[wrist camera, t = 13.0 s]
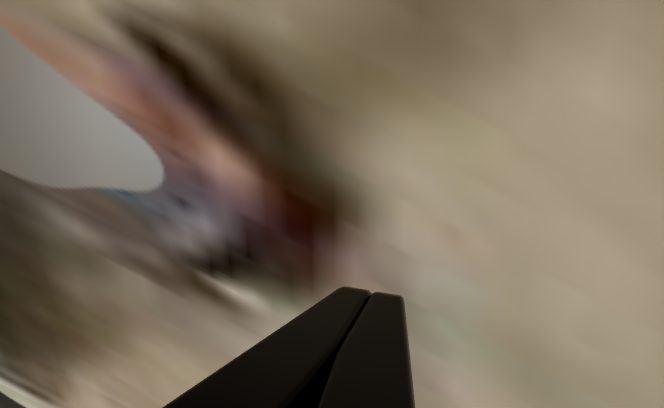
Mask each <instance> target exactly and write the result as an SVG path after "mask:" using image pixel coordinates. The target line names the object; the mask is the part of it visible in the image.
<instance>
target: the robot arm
mask: <svg viewBox="0 0 664 408" xmlns="http://www.w3.org/2000/svg"><path fill="white" fill-rule="evenodd" d="M163 408H415V400H414V390H413V381H412V371H411V362H410V352H409V343H408V333H407V323H406V314H405V304H404V299H403V297H402V296H400V295H394V294H388V293H382V292H375V293H373V294H372V293H371V292H370V291H368V290H364V289H358V288H352V287H341V288H339V289H337V290H336V291H334V292H333V293H331V294H330V295H329V296H327V297H326V298H324V299H323V300H321V301H320V302H318V303H317V304H315V305H314V306H312V307H311V308H309V309H308V310H306V311H305V312H303V313H302V314H300V315H299V316H297V317H296V318H294V319H293V320H292V321H290V322H289V323H287V324H286V325H284V326H283V327H281V328H280V329H278V330H277V331H275V332H274V333H272V334H271V335H269V336H268V337H266V338H265V339H263V340H262V341H260V342H259V343H257V344H256V345H254V346H253V347H252V348H250V349H249V350H247V351H246V352H244V353H243V354H241V355H240V356H238V357H237V358H235V359H234V360H232V361H231V362H229V363H228V364H226V365H225V366H223V367H222V368H220V369H219V370H217V371H216V372H215V373H213V374H212V375H210V376H209V377H207V378H206V379H204V380H203V381H201V382H200V383H198V384H197V385H195V386H194V387H192V388H191V389H189V390H188V391H186V392H185V393H183V394H182V395H180V396H179V397H177V398H176V399H175V400H173V401H172V402H170V403H169V404H167V405H166V406H164V407H163Z"/></svg>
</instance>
